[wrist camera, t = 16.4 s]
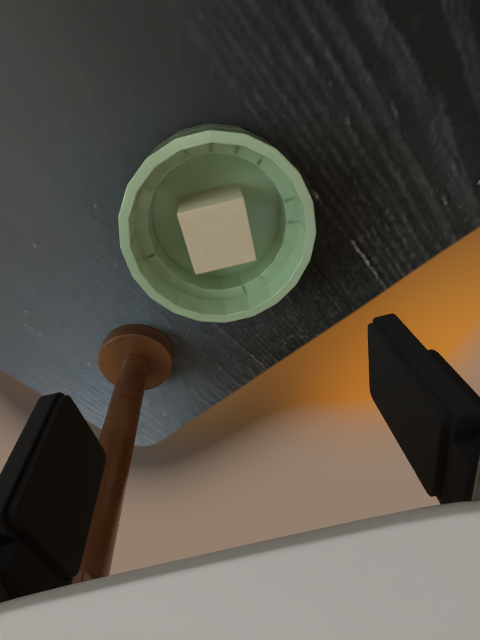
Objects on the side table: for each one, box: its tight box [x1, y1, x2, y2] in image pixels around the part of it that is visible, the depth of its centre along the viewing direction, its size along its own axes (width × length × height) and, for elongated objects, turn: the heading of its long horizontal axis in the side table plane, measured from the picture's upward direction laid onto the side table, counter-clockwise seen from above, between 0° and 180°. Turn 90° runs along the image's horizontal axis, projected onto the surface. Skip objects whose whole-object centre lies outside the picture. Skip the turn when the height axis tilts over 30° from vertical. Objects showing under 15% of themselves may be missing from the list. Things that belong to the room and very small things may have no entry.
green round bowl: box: [118, 123, 316, 322], centre depth 24 cm, size 12×12×5 cm
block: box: [177, 183, 257, 275], centre depth 24 cm, size 4×4×4 cm
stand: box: [72, 325, 173, 584], centre depth 24 cm, size 6×6×19 cm
